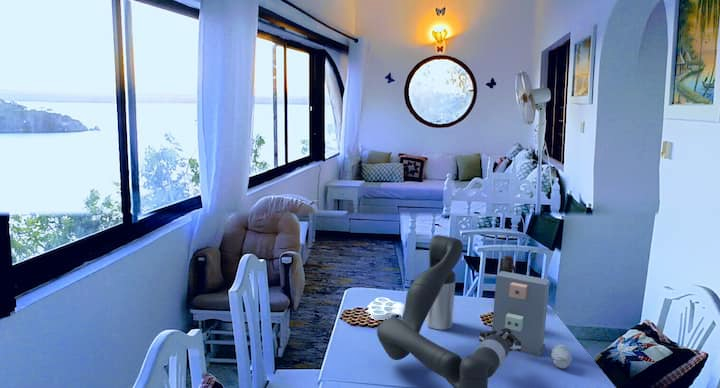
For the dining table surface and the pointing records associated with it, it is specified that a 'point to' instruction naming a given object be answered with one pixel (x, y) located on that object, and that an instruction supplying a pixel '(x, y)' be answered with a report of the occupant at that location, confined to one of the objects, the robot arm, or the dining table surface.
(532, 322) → the large grey rectangular box
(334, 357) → the dining table surface
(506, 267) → the lantern
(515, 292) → the pink rectangular block
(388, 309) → the white bumpy piece
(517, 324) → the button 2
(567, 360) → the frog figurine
